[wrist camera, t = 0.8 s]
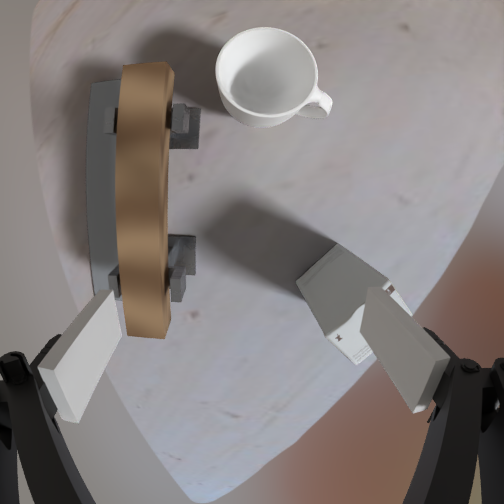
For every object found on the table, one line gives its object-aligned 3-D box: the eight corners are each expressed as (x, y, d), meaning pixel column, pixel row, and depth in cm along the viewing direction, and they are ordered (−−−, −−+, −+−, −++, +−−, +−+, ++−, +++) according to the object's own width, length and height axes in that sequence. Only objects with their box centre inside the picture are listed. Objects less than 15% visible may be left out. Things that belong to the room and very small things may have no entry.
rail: (136, 75, 25) (123, 65, 21) (174, 73, 25) (166, 61, 21) (137, 317, 32) (127, 335, 28) (171, 319, 33) (164, 339, 29)
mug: (209, 120, 34) (199, 98, 22) (233, 58, 32) (236, 15, 20) (299, 151, 36) (331, 145, 24) (321, 90, 34) (358, 62, 22)
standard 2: (135, 234, 37) (104, 262, 27) (195, 236, 38) (182, 266, 28) (137, 270, 39) (109, 308, 28) (195, 273, 40) (184, 314, 29)
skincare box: (318, 306, 42) (354, 371, 28) (292, 279, 41) (321, 340, 27) (362, 268, 41) (416, 318, 27) (338, 238, 39) (391, 280, 25)
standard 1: (138, 110, 33) (104, 95, 22) (200, 109, 33) (188, 89, 23) (135, 149, 34) (100, 147, 24) (198, 149, 35) (184, 144, 24)
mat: (92, 83, 31) (91, 83, 30) (133, 78, 31) (132, 78, 31) (96, 297, 40) (95, 298, 39) (133, 300, 40) (132, 301, 40)
